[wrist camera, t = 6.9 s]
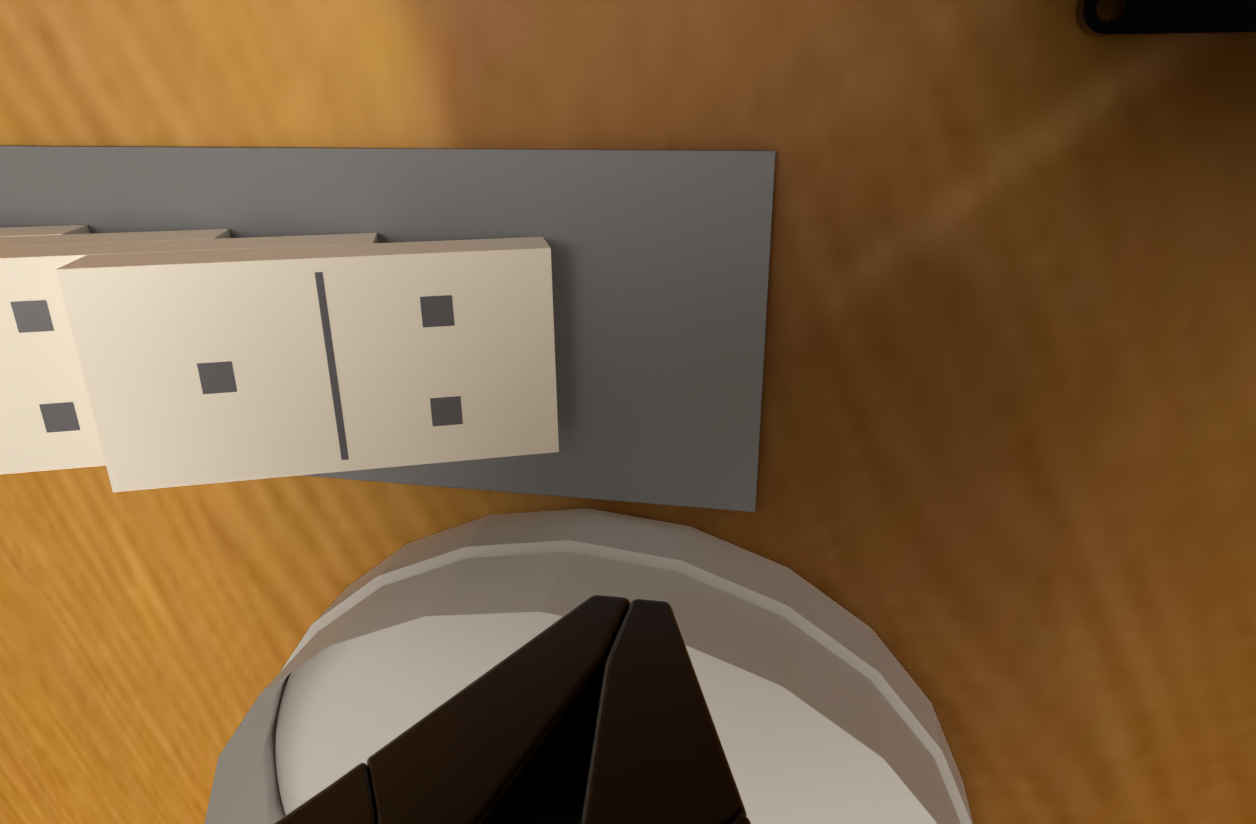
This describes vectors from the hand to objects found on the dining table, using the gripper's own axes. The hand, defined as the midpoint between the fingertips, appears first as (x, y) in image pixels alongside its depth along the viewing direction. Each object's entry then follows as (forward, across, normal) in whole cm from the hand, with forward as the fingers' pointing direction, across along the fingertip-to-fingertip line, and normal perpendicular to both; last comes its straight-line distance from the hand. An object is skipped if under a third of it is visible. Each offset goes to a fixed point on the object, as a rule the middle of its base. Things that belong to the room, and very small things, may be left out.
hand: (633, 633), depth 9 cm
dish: (+13, +3, +16) cm, 21 cm away
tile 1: (+11, +4, 0) cm, 12 cm away
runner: (+12, +9, 0) cm, 16 cm away
